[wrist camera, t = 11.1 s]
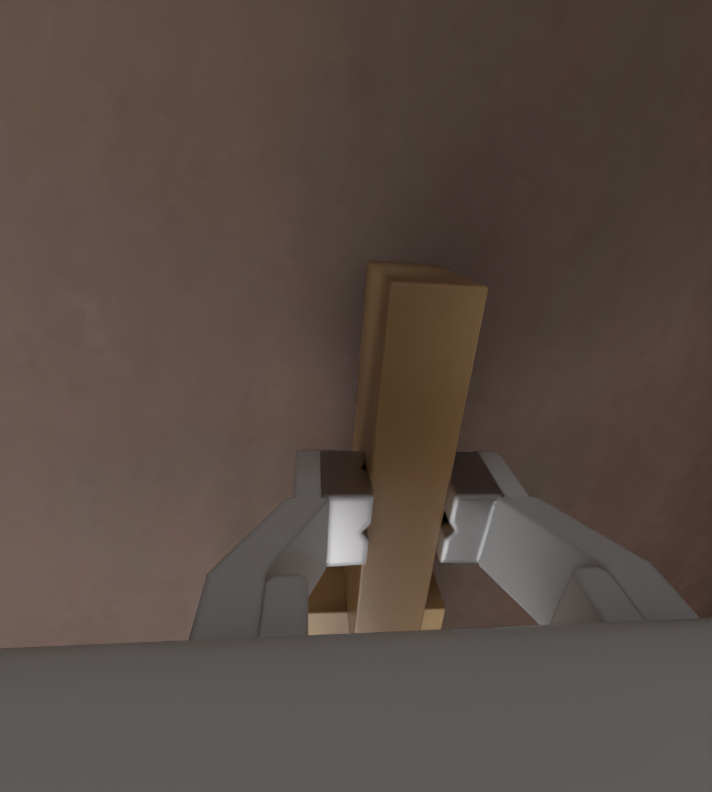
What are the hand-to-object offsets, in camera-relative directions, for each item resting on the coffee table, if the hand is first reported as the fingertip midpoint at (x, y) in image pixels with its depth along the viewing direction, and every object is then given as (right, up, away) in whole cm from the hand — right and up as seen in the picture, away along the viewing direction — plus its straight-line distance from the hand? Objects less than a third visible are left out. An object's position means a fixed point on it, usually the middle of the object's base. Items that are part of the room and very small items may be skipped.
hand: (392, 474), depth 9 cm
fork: (0, -3, +3) cm, 5 cm away
